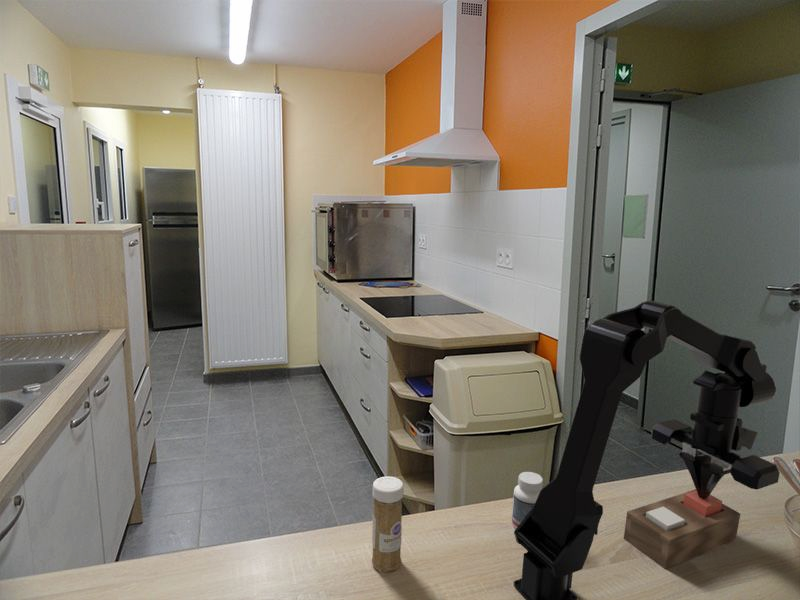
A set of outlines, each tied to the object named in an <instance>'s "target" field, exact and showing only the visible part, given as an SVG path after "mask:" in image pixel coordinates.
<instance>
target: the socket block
mask: <svg viewBox="0 0 800 600" xmlns="http://www.w3.org/2000/svg"><path fill="white" fill-rule="evenodd" d="M693 491H696V488H695V489H692V490H688V491H687V492H683V493H679V494H676V495H674V496H671V497H668V498H664V499H661V500H658V501H656V502H652V503H650V504H647V505H642V506H640V507H637V508H635V509H630V510H628V511H627V510H626V518H625V525H624V532H623V539H624V540H625V541H626V542H628V543H629V544H631V545H632V546H633V547H635V548H636V549H637V550H639V551H640V553H643V554H644V555H646V556H647V557H648V558H650V560H652V561H654V562H655V563H657V564H658V565H659V566H660V567H662V568H663V569H665V570H666V569H669V568H671V567H674V566H676V565H678V564H681V563H684V562H686V561H689V560H690V559H694V558H696V557H699V556H701V555H703V554H706V553H708V552H711V551H714V550H715V549H718V548H721V547H724V546H725V545H728V544H730V543H733V542H735V541H737V535H738V530H739V523H740V518H741V513H740V512H738V510H735V509H733V508H731V507H729V506H728V505H726V504H724V503H722V507H721V512H720V513H717V514H714V515H711V516H709V517H704V516H702V515H701V514H699V513H697V512H696V511H694V510H692V509H691V508H689V507H687V506H686V505H684V504H683V502H684V495H685V494H687V493H690V492H693ZM660 507H665V508H667V509H668V510H670V511H671V512H673V513H675V514H676V515H678V516H680V517H681V518H683V519H684V520H685V523H684V526H681V527H678V528H676V529H673V530H670V531H666V530H665V529H663V528H662V527H660V526H659V525H657V524H656V523H654V522H653V521H651V520H650V519H648V518H647V517H646V512H648V511H651V510H654V509H657V508H660Z"/></svg>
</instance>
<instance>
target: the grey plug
mask: <svg viewBox="0 0 800 600" xmlns="http://www.w3.org/2000/svg"><path fill="white" fill-rule="evenodd" d="M646 517H647V518H648V519H650V520H651V521H653V522H654V523H656V524H657V525H659V526H660V527H662V528H663V529H665V530H666V531H670V530H673V529H676V528H678V527H681V526H684V523H685V520H684V519H683V518H681V517H680V516H678V515H676V514H675V513H673V512H671V511H670V510H668V509H667V508H665V507H660V508H657V509H654V510H651V511H648V512H646Z"/></svg>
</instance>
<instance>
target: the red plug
mask: <svg viewBox="0 0 800 600" xmlns="http://www.w3.org/2000/svg"><path fill="white" fill-rule="evenodd" d="M683 504H684V505H686V506H687V507H689V508H691V509H692V510H694V511H696V512H697V513H699V514H701V515H702V516H704V517H709V516H711V515H714V514H717V513H720V512H721V507H722V504H723V500H721V499H719V498H718V497H716V496H714V495H712V494H710V495H709V496H708V498H707V499H702V498H700V497H699V496H698V493H697V490H696V491H693V492H690V493H687V494H685V495H684V502H683Z"/></svg>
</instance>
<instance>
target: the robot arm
mask: <svg viewBox="0 0 800 600" xmlns="http://www.w3.org/2000/svg"><path fill="white" fill-rule="evenodd" d="M642 329H648V330H650V331H648V332H645V331H644V330H642ZM667 339H669V340H671V341H673V342H675V343H677V344H679V345H681V346H683V347H685V348H686V349H689V350H690V351H691V356H692V357H693V358H694V359H695V360H696V361H698V363H699V364H701V365H703V366H706V367H708V368H712V369H714V370H718V371H721V372H712V371H709V370H704V371H703V372H702V373H701V374H700V375H698V376H696V377H695V378H694V379H693V382H692V384H694V385H695V386H699V391H698V398H697V399H698V400H697V406H696V411H695V412H693V413H690V418H689V419H690V420H691V421H693V422H694V424H693V427H692V426H690V425H688V424H686V423H683V422H682V421H680V420H677V419H675V418H673V419H669V420H665V421H661V422H657V423H655V424H654V425H653V426H652V428H651V435H650V437H651V439H652V440H654V441H656V442H658V443H660V444H662V445H667V444H670V443H671V442H672V439H673V440H674V441H677V442H680V443H681V445H682V451H681V452H679V453H678V457H680V459H682V460H683V462H684V464H685V466H686V468H687V470H688V473H689V475H690V477H691V479H692V482H693V485H694V487H695V489H696V490H697V493H698V496H699V497H700V498H702V499H707V498H708V496H709V495H712V492H713V491H714V489H715V488H716V487H717V485H718V483H719V482H720V481H721V479H722V478H723V477H724V476H725V475H729V474H730V475H731V477H732V478H733V480H734V481H735V482H737V483H739V484H742V485H743V486H745V487H747V488H749V489H753V490H760V489H763V488H767V487H769V486H773V485H774V484H777V483H778V482H779V479H780V474H781V473H780V470H779V467H778V466H777V465H776V464H775V463H773V462H771V461H769V460H766V459H765V458H762V457H759V455H758V456H757V455H756V454H751V455H748V456H745V457H742V456H741V455H740V454H738V453H734V452H733V451H736V452H737V451H741V450H742V448H743V447H744V448H747V450H749V451H750V450H752V449H753V445H754V442H755V441H756V438H757V436H758V433H759V432H758V431H757V430H753V429H752V428H748V427H746V426H744V425H743V420H742V419H741V418H739V417H738V414H739V410H740V408H747V407H749V406H753V405H757V404H762V403H765V402H768V401H770V400H771V399H772V398H773V397H774V396H775V393H776V391H777V390H776V389H777V388H776V386H775V382H774V379H773V377H772V376H771V375H770V374H769V373H768V372H767V368H768V367H767V365H766V364H764V363H761V360H760V357H759V354H758V352H757V350H756V349H757V347H756V345H755V343H754V342H753V341H751V340H748V339H745V338H740V337H737V336H732V335H729V334H725V333H721V332H719V331H715V330H714V329H712V328H710V327H708V326H706V325H705V324H703V323H701V322H700V321H698V320H697V319H694V318H693V317H690V316H689V315H688V314H686V313H684V312H682V311H681V310H680V309H679V308H677V307H676V306H674V305H671V304H666V303H662V302H657V301H654V300H648V301H643V302H641V303H639V304H638V305H636V306H635V307H631V308H628V309H623V310H621V311H617V312H612V313H609V314H607V315H606V316H604V317H603V318H600V319H597V320H594V322H593V323H592V324H588V326H587V327H586V328H585V331H584V333H583V337H582V343H581V348H580V354H579V362H580V367H581V370H582V374H583V378H584V379H583V380H584V382H583V385H582V388H581V389H582V390H581V392H580V396H579V399H578V402H577V405H576V409H575V413H574V415H573V419H572V423H571V427H570V430H569V433H568V437H567V440H566V443H565V446H564V450H563V452H562V453H563V454H562V457H561V460H560V463H559V467H558V471H557V473H556V476H555V478H554V479H552V480H551V481H550V482H548V484H546V485H545V486H544V487H542V489H541V491H540V493H539V495H538V498H537V500H536V502H535V505H534V506H533V508H532V509H531V510H530V512H529V513H528V514H527V515H526V517H525V518H524V519H523V521H522V522H521V523H520V524H519V526H518V527H517V528H515V530H514V532H513V533H514V537H515V541H516V543H517V544H519V545H521V546H522V547H523V548H524V549H525V550H526V551H527V552H525V553H523V557H522V559H523V560H522V571H521V578H520V579H516V580H514V581H513V587H514V588H515V589H516V590H517V591H518V592H519V594H521V595H522V596H523V597H524V598H525V600H578V597H577V595H576V594H575V593H573V592H572V591H571V590H570V589H572V584H573V583H572V582H573V574H574V573H577V572H579V571H581V570H583V568H584V566H585V563H586V561H587V557H588V555H589V552H590V550H591V547H592V544H593V541H594V538H595V536H597V535H598V530H599V528H598V527H599V524H600V521H601V519H602V516H603V513H604V506H603V505H602V504H600V502H598V501H596V500H595V497H594V491H593V490H594V487H595V483H596V480H597V476H598V473H599V470H600V468H601V467H600V466H601V464H602V459H603V456H604V454H605V450H606V447H607V443H608V440H609V437H610V434H611V431H612V427H613V424H614V422H615V421H614V420H615V417H616V414H617V411H618V407H619V404H620V400H621V396H622V394H623V392H624V391H626V389H628V388H629V387H630V386H631V385H632V384H633V383H635V382H636V381H638V379H639V378H640V377H641V376H642V373H643V371H644V368H645V366H646V364H647V362H649V361H650V360H652V359H654V357H656V356H657V355H660V353H663V351H664V349H665V345H666V342H667ZM723 372H724V373H723Z"/></svg>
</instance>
